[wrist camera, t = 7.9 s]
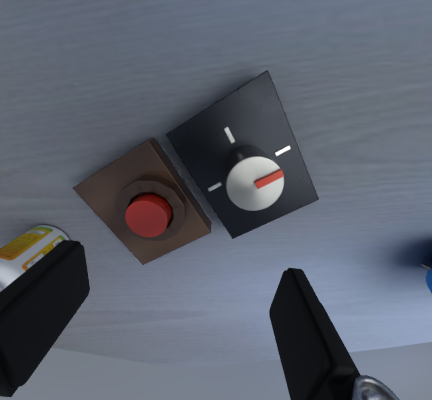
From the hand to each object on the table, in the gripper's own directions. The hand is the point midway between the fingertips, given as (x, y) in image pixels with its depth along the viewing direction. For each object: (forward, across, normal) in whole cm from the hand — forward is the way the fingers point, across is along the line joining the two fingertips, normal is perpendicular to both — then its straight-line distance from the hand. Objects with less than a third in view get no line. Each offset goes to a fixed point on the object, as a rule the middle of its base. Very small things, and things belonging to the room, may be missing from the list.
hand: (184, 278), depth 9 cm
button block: (+15, +6, +4) cm, 16 cm away
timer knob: (+12, -4, -3) cm, 13 cm away
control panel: (+15, -4, -3) cm, 15 cm away
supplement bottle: (+15, +19, +12) cm, 27 cm away
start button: (+11, +5, +3) cm, 12 cm away
